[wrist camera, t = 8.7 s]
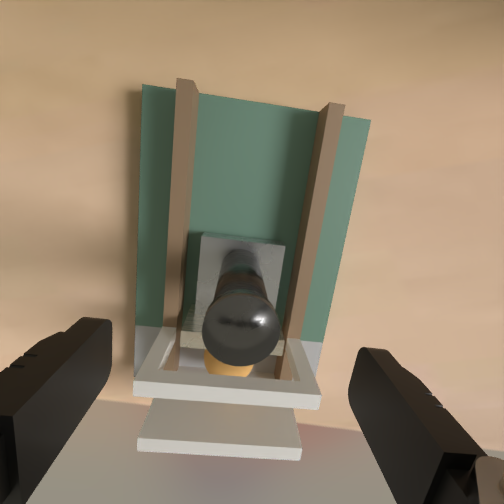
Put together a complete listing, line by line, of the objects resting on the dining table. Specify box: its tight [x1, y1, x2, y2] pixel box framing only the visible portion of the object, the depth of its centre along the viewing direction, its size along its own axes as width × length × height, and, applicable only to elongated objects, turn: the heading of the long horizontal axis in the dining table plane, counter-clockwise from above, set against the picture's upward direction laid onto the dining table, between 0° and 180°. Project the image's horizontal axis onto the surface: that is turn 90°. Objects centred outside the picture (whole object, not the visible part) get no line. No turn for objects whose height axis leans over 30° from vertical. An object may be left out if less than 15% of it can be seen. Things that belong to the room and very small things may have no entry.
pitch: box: [133, 78, 371, 461], centre depth 18 cm, size 23×16×10 cm
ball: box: [204, 349, 254, 377], centre depth 21 cm, size 4×4×4 cm
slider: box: [180, 232, 286, 367], centre depth 16 cm, size 7×7×10 cm
